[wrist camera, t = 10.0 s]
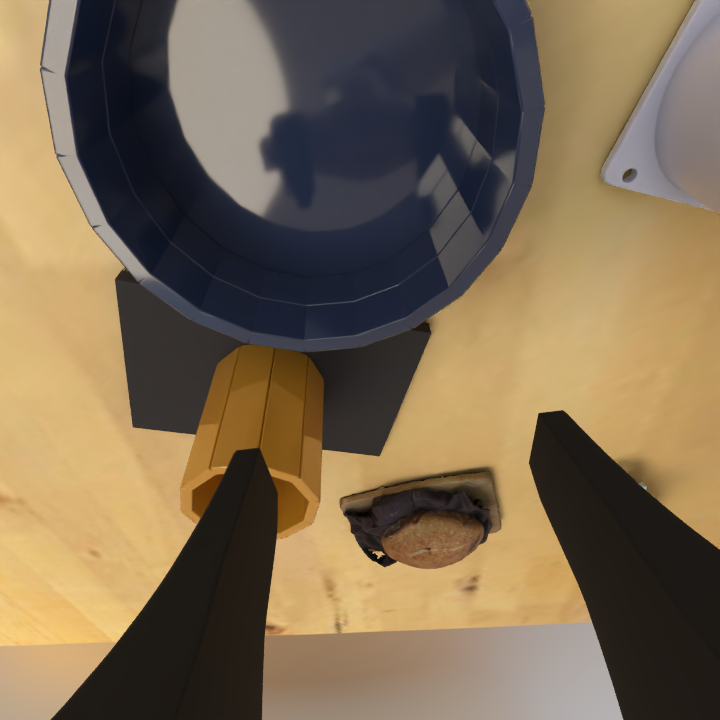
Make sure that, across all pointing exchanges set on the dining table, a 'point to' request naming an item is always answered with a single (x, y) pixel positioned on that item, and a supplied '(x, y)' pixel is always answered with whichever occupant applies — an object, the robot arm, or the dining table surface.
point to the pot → (297, 153)
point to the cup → (261, 431)
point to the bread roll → (424, 520)
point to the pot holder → (208, 347)
